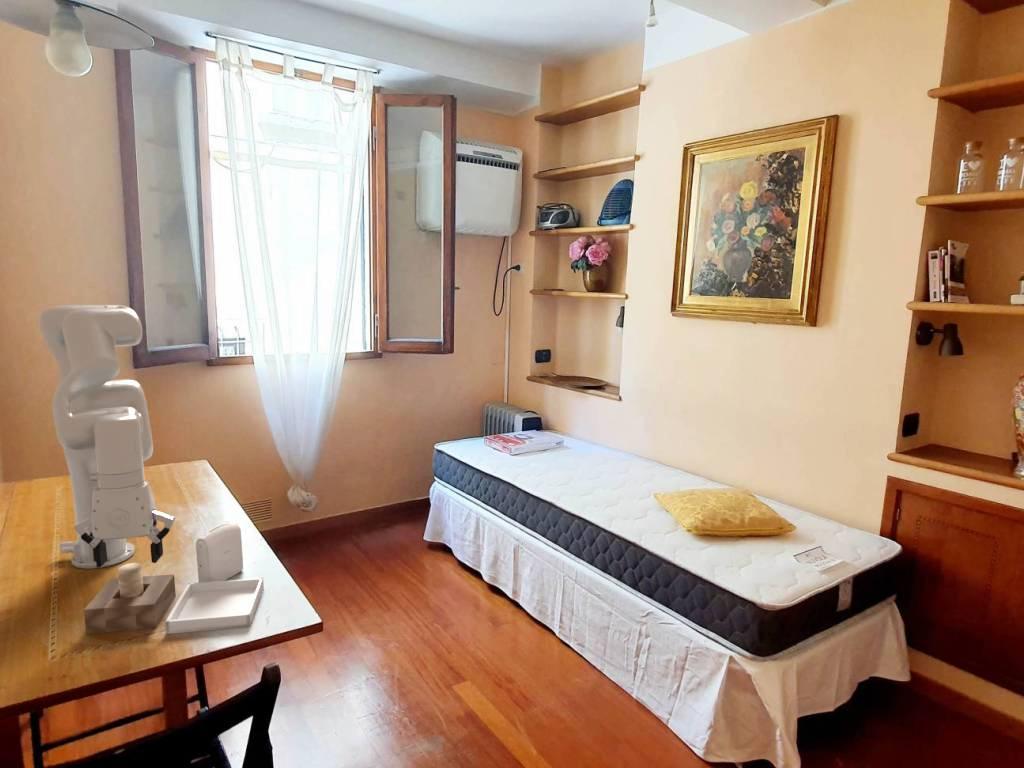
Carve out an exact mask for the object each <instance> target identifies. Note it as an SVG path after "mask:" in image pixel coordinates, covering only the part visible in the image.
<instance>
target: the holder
mask: <svg viewBox="0 0 1024 768" xmlns="http://www.w3.org/2000/svg"><path fill="white" fill-rule="evenodd" d="M142 577H143V590H144V593H143V595H142V596H141V597H129V598H120V589H119V577H118V578H116V577H115V578H110V579H109V580H108V581H107V582H106V583H105V585H103V587H102V588H101V589H100V590H99V592H98V593H97V594H96V595H95V596H94V597H93V599H91V601H90V602H89V603H88V604H87V605H86V606H85V608H84V609H83V615H84V623H85V625H84V626H85V632H86V633H85V634H86V635H91V634H100V633H101V634H102V633H110V632H111V633H112V632H124V631H125V632H126V631H136V630H149V629H156V628H158V626H159V624H160V623H161V621H162V619H163V617H164V616H165V614H166V612H167V611H168V610H169V608H170V606H171V605H172V603H173V601H174V600H175V598H176V597H177V596H176V583H175V581H176V580H175V574H164V575H163V574H160V575H147V576H142Z"/></svg>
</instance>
